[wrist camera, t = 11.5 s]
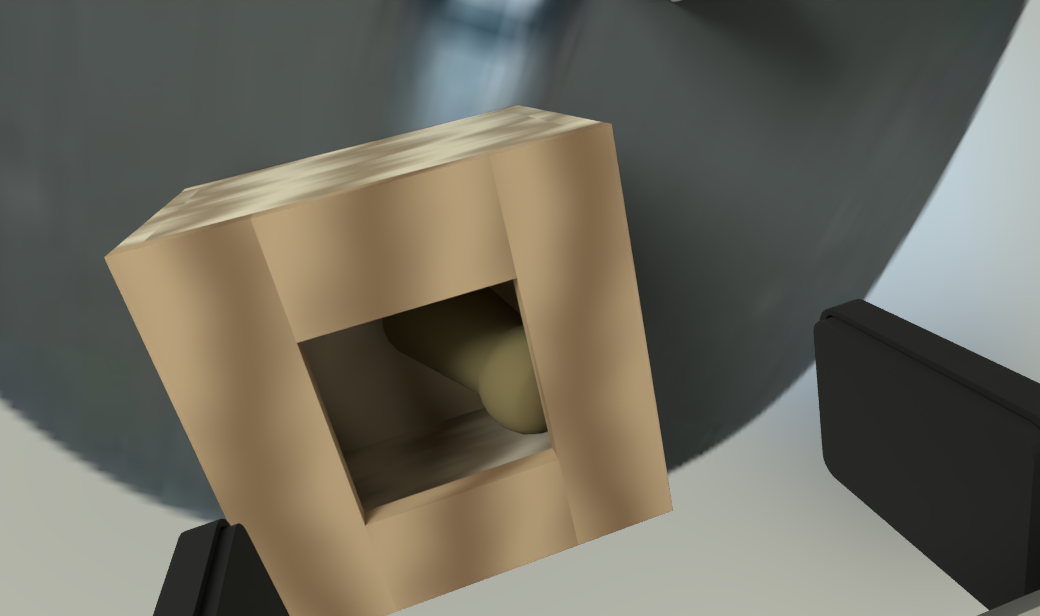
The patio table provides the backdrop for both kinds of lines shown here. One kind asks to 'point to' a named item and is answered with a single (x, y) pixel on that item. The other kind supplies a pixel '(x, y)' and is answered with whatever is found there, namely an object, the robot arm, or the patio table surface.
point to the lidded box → (404, 356)
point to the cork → (476, 353)
